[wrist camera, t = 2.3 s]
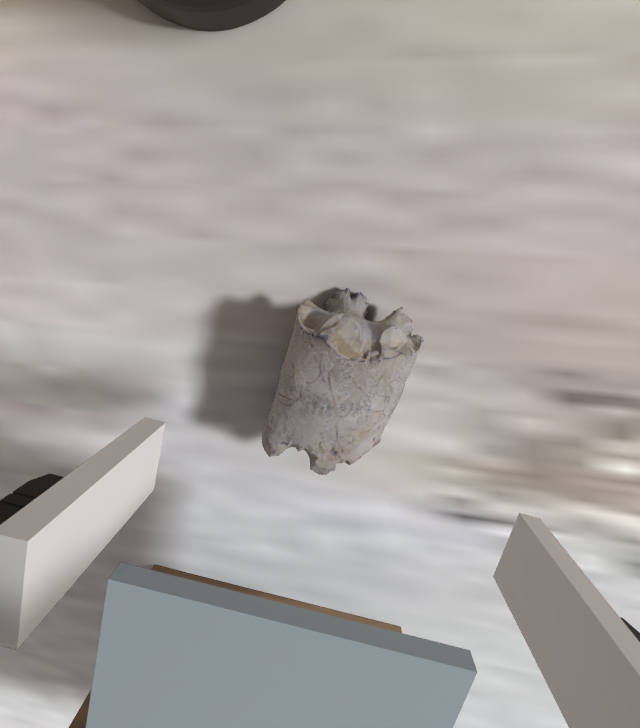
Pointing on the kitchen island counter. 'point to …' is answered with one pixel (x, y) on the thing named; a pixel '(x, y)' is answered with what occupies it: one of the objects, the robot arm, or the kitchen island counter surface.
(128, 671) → the trapdoor
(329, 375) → the stone
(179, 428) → the kitchen island counter surface
